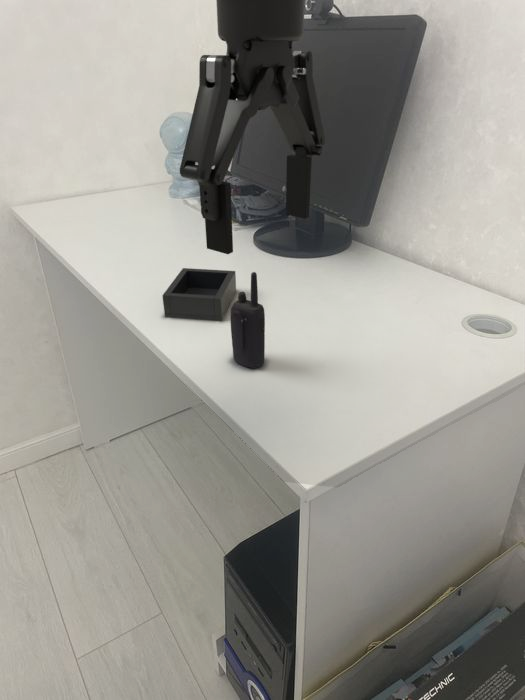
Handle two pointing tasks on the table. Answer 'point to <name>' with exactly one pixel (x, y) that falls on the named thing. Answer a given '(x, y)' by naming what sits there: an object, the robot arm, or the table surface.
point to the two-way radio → (248, 328)
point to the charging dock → (200, 294)
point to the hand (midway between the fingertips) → (261, 232)
